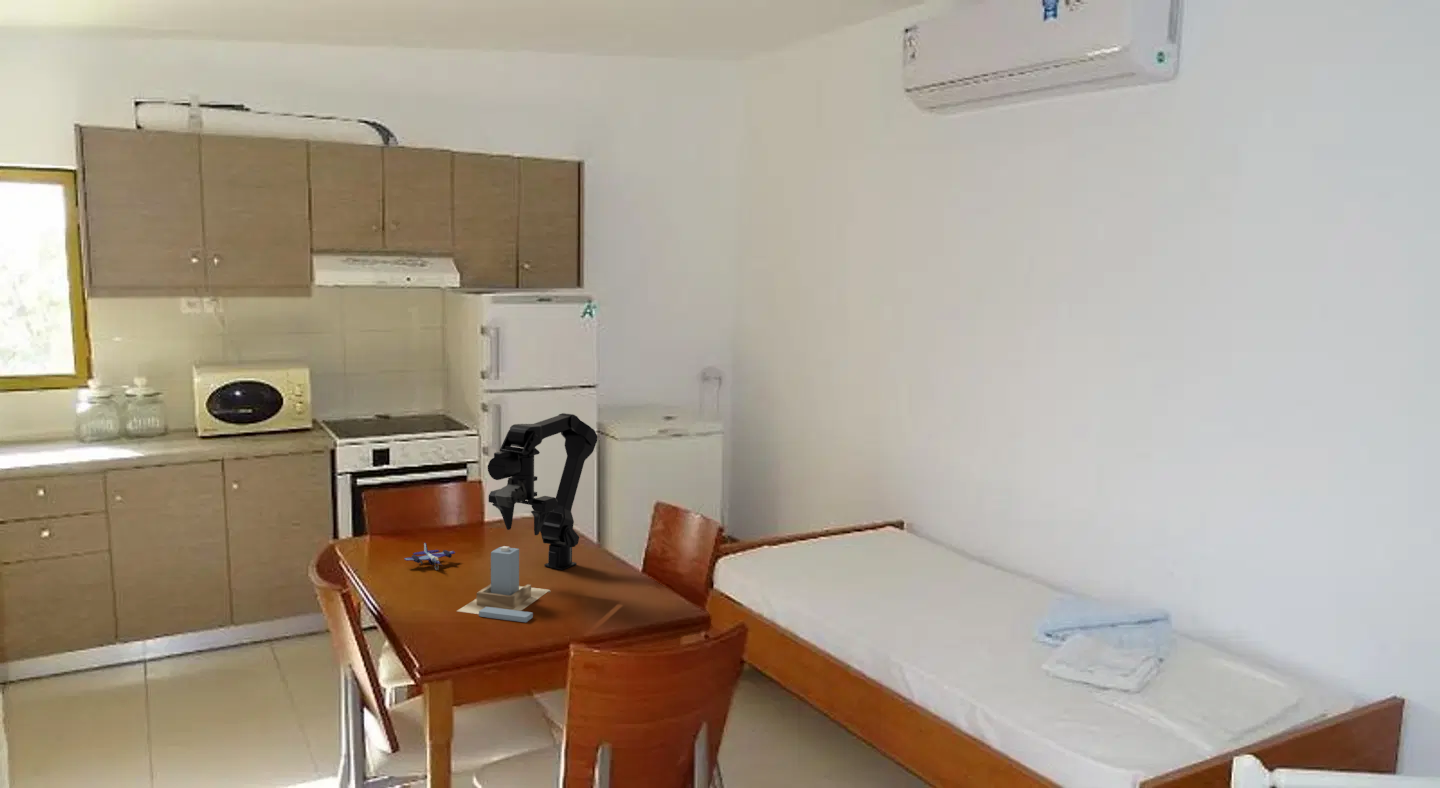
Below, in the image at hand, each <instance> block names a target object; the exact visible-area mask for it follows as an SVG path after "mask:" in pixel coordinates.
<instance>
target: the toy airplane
mask: <svg viewBox="0 0 1440 788" xmlns="http://www.w3.org/2000/svg"><path fill="white" fill-rule="evenodd" d="M455 554H456V551H454V550H451V551H449V550H446V549H443V550H442V552H440V550H439V549H434V550H433V549H432V550H430V549H429V550H428V546H427V543H426V542H423V550H422V551H417V552H413V553H412V555H411V557H404V560H405V561H413V562H415V563H417V564H420V563H421V564H420V565H423V561H428V563H429V565H432V566H433V565H434V566H435V567H434V569H435V571H437V570H438V571H439V568H440V567H439V565H440V566H442V564H441V562H440V560H439V559H440V558H443V557H446V558H448V559H450V558H452V557H453V555H455ZM436 564H437V566H436Z"/></svg>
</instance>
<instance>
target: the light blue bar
mask: <svg viewBox="0 0 1440 788" xmlns="http://www.w3.org/2000/svg"><path fill="white" fill-rule="evenodd" d="M533 616H534V612H531V611H524V610H522V611H516V610H509V609H501V608H493V607H485V608H483V609H482V610H480V611H479V614H478V617H483V618H488V619H497V620H502V621H503V620H504V621H511V622H520V623H528V622H529V621H530V620H531V619H533V618H534V617H533Z"/></svg>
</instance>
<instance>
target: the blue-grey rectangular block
mask: <svg viewBox="0 0 1440 788" xmlns="http://www.w3.org/2000/svg"><path fill="white" fill-rule="evenodd" d="M490 584H491V593H494V594H502V595H510V596H511V595H512V594H514V593H515V592H517V591H518V590H519V586H520V548H515V547H510V546H505V545H503V546H499V547H497V548H495V549H493V550H492V551H491V552H490Z"/></svg>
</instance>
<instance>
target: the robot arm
mask: <svg viewBox="0 0 1440 788" xmlns="http://www.w3.org/2000/svg"><path fill="white" fill-rule="evenodd" d="M557 434H560V435H561V436H562V437H563V439H564V440H565V441H564V449H565V453H566V459H565V462H564V463H565V464H564V466H563V470H562V474H561V477H560V480H559V485H558V489H557V492H556V495H555V497H553V496H549V495H542V496H540V497H538V491H535V482H536V481H538V476H537V475H535V456H537V455H540V451H539V450H538V449H537V448H536V447H537V446H540V445H541V444H542V442H543V440H544V439H546V438H548V437H549V438H550V437H553V436H554V435H557ZM597 443H598V434H597V431H595V429H594V428H592V427H591V426H590V425H588V424H587V423H586V422H584V421H582V420H580V418H579V417H578V416H577V415H576V414H573V413H565V412H563V413H559V414H558V415H556V416H552V417H550V418H547V419H544V420H541V421H537V422H535V423H515V424H513V425H511V426H510V427H509V430H508V431H507V433H506V435H505V438H504V439H503V442H502V443H501V446H500V448H499V452H498V451H497V452H494V453H493V457H492V458H491V459H489V462H488V464H487V472H488V474H489V476H490V477H491V478H492V479H493V480H496V481H500V480H503V479H507V484H506V485H505V486H503V487H501V488H499V489H495V490H491V491H490V492H489V494H488V503H490V504H491V503H492V506H493V507H495V508H496V509H498V510H499V512H500V514H501V516H502V519H503V523H504V525H505V528H506V530H507V531H510V530H511V529H512V526H513V519H514V512H515V511H514V510H515V505H516V504H524V505H529V506H531V508H532V510H531V511H530V513H531V514H532V516H533V533H534V536H538V535H539V533H540V535H541V538H542V543H543V544H548V553H547V554H548V558H547V559H548V561H547V563H545V564H544V567H547V568H551V569H554V570H555V569H556V570H561V571H562V570H563V571H564V570H566V569H569V568H571V567H574V566H576V565H577V562H575V561H573V548H575V547H576V546H577V545H579V540H580V536H579V534H578V533H577V532H576V531H575V530H574V524H575V521H574V518H573V517H574V516H573V514H572V507H573V505H574V501H575V497H576V494H577V492H578V491H577V489H578V486H579V483H580V480H581V475H582V472H583V469H584V464H585V461H586V460H587V459H588V458H589V457H590V456H591V455H592V454H593V452H594V451H595V450H594V449H595V448H596V445H597Z"/></svg>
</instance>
